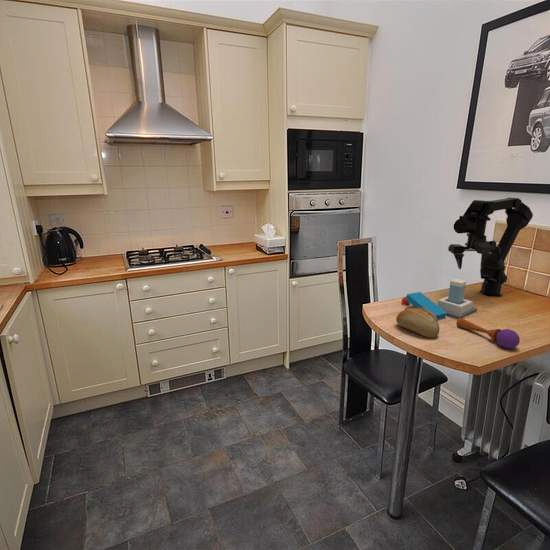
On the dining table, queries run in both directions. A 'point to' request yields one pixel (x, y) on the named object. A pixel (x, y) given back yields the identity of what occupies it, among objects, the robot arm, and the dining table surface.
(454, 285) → the box with white lid
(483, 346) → the dining table surface
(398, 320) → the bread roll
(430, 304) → the blue long block
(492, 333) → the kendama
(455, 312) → the board
